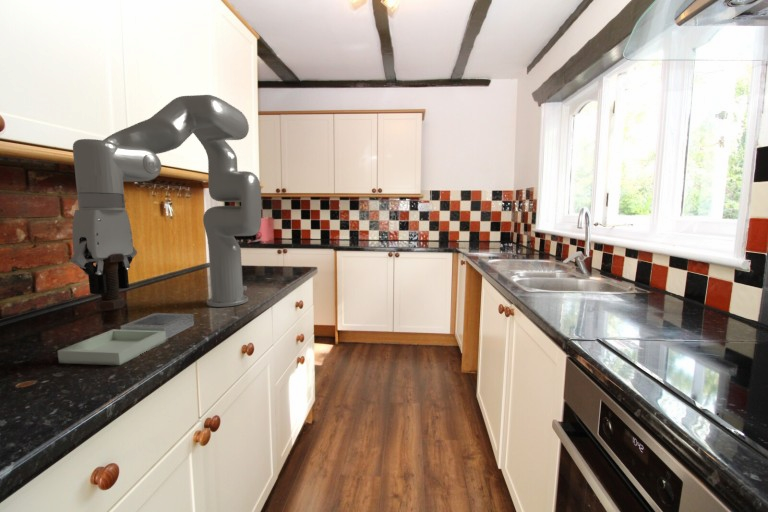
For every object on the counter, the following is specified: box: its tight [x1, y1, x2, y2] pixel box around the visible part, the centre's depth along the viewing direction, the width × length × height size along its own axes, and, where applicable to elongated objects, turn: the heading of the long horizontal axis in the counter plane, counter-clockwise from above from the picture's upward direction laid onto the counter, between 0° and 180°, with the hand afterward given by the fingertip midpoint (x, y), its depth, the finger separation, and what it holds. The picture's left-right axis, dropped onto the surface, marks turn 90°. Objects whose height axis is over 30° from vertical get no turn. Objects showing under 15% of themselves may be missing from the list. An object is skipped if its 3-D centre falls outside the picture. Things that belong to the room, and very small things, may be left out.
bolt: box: [92, 254, 126, 327], centre depth 75 cm, size 6×5×15 cm
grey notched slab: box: [120, 312, 195, 340], centre depth 89 cm, size 11×11×3 cm
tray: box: [57, 328, 167, 366], centre depth 76 cm, size 13×13×2 cm
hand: (110, 289), depth 75 cm, fingers closed on bolt, 4 cm apart
